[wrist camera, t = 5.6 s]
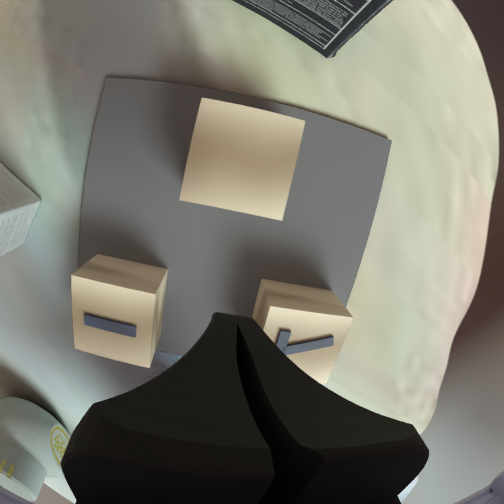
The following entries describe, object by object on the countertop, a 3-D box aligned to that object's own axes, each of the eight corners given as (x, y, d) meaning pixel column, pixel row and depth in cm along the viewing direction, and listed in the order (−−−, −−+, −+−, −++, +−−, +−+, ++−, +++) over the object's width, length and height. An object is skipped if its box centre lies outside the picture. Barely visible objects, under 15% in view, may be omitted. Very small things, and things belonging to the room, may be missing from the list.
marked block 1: (160, 334, 20) (148, 370, 16) (95, 318, 20) (73, 350, 16) (168, 268, 19) (154, 295, 15) (97, 253, 18) (69, 276, 14)
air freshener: (84, 458, 25) (64, 522, 15) (30, 440, 24) (4, 495, 15) (57, 395, 22) (17, 469, 12) (-2, 376, 21) (-46, 434, 12)
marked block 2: (310, 350, 22) (326, 386, 18) (245, 342, 21) (249, 380, 17) (331, 290, 20) (354, 319, 16) (261, 278, 20) (270, 307, 16)
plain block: (270, 208, 18) (281, 220, 15) (189, 192, 18) (179, 200, 14) (288, 129, 17) (305, 120, 13) (206, 111, 16) (201, 97, 13)
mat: (318, 369, 23) (320, 372, 22) (81, 328, 20) (79, 330, 20) (388, 141, 18) (391, 140, 18) (108, 79, 15) (106, 77, 15)
